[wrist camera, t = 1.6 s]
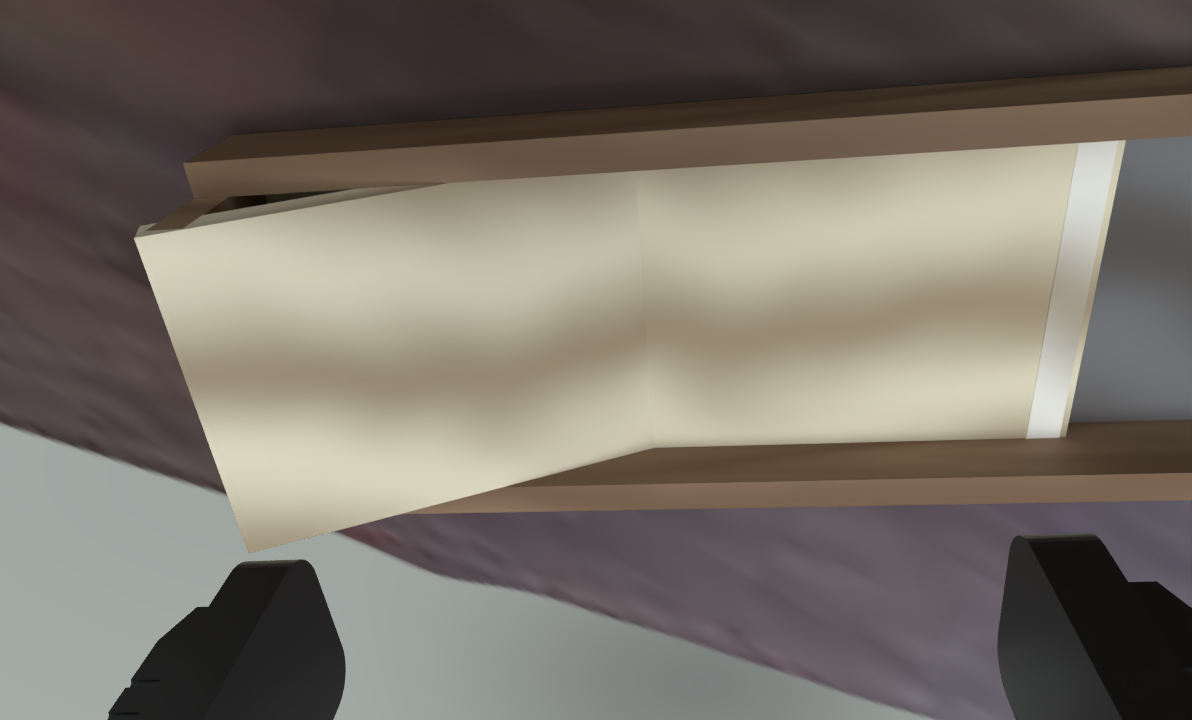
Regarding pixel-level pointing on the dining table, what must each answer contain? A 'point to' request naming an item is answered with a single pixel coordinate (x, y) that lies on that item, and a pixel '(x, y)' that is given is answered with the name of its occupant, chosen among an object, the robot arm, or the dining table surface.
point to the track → (696, 305)
